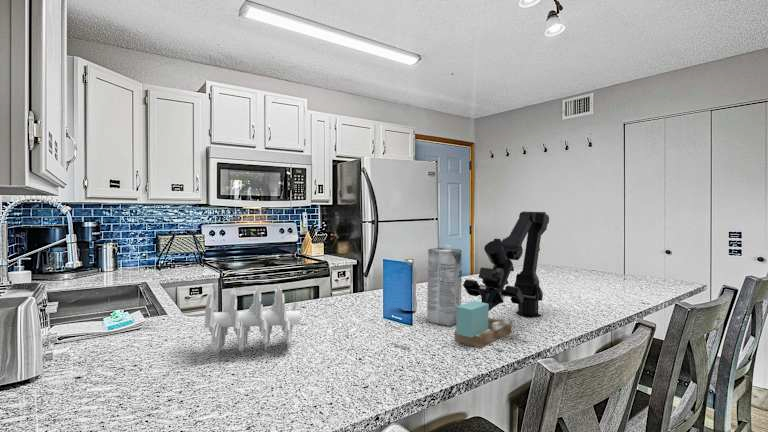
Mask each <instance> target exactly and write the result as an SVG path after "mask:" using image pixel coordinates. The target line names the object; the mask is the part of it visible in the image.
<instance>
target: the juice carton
mask: <svg viewBox="0 0 768 432" xmlns="http://www.w3.org/2000/svg"><path fill="white" fill-rule="evenodd" d="M427 251H428V254H427V255H428V259H427V304H426V306H427V319H428V322H429V323H432V324H439V325H442V326H446V327H451V326H454V325H455V324H456V319H457V306H460V305H462V273H463V271H462V270H463V269H462V267H463V265H462V264H463V263H462V262H463V260H462V259H463V258H462V249H460V248H452V245H451V244H443V247H434V248H429V249H427Z"/></svg>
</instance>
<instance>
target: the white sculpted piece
mask: <svg viewBox="0 0 768 432" xmlns="http://www.w3.org/2000/svg"><path fill="white" fill-rule="evenodd" d="M258 287H259V285H255V290H253V301H252V303H251V305H250V306H249V307H248V308H249V309H248V311H238V298H237V291H236V288H235V287H233V288H232V289H231V293H230V301H229V305H228V307H226V311H219V312H218V311H214V298H213V294H214V293H213V289H212V288H211V287H210V288H209V289H208V290H209V291H208V294H207V295H208V296H207V300H206V304H205V310H204V312H205V313H204V328H205V329H207V328H208V329H209V331H208V332H209V333H210V336H211V338H210V342H211V343H210V344H213V351H216V356H219V355H220V352H222V351H223V347H225V344H226V338H227V337H226V336H227V335H229V334H228V333H229V328H233V332H235V335H236V345H238V351H240V354H243V353H244V350H245V349H246V344H248V337H249V335H248V334H249V333H250V331H251V327H258V328H259V329H258V331H259V332H260V335H261V336H262V337H263V339H262V341H263V342H262V343H263V344H264V351H267V348H268V347H269V344H270V341H271V334H272V330H273V326H274V327H276V326H280V327H281V331H282V332H283V334H284V337H285V338H286V340H285V341H286V349H287V350H288V349H290V346H291V342H292V333H293V332H292V331H293V327H294V326H299V325H300V321H301V311H300V310H297V309H298V302H297V301H294V302H293V303H292V307H291V309H289V310H287V305H285V293H283V289H282V287H281V285H280V284H278V285H277V288H275V289H274V300H273V303H272V305H270V306H271V307H270V310H264V304H263V303H262V292H260V288H258Z"/></svg>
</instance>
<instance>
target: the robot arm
mask: <svg viewBox="0 0 768 432" xmlns="http://www.w3.org/2000/svg"><path fill="white" fill-rule="evenodd" d="M549 222H550V216H549V214H547V212H545V211H521V212H520V213H519V215H518V219H517V220H516V223H515V225H514V227H513V229H512V230H511V232H510V234H509V235H508V236H507V237H505V238H503V239H502V240H501V238H494V239H493V240H492V241H489V242H487V244H485V246H484V247H483V248H484V249H483V250H484V253H485V255H486V256H487V258H488V260H489V262H490V263H491V264H492V265H493V266H492V268H489V267H480V269H479V273H478V278H479V279H482V280H481V282H482V284H481V283H480V284H479V282H478V280H474V279H465V280H464V282H463V284H462V287H463V288H464V290H465V292H466V293H467V294H468V295H469V296H474V297H478V296H480V299H481V302H483V303H488V304H489V311H491V310H493V308H495V307H497V306H498V305H500V304H504V299H505V298H506V297H509V298H510V301H511V303H512V304H516V305H517V311H516V312H515V313H516V314H518V315H520V316H523V317H526V318H534V317H541V315H542V314H540V313H539V302H542V301H543V298H544V293H543V290H542V288H541V286H540V279H539V277H538V275H537V267H538V260H539V253H540V246H541V245H540V244H541V239H542V235H543V234H544V233H545V231H547V229H548V224H549ZM526 236H527V237H526ZM525 238H526V244H525V249H524V248H523V245H522V244H523V242H524V240H525ZM523 252H524V256H523ZM522 256H523V257H524V258H523V264H522V270H521V271H520V273H517V274H516V275H515V281H514V285H508V284H509V280H508V279H509V276H510V274H511V272H514V271H515V267H514V263H513V262H512V261H519V260H520V258H521V257H522Z"/></svg>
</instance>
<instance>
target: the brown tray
mask: <svg viewBox="0 0 768 432" xmlns="http://www.w3.org/2000/svg"><path fill="white" fill-rule="evenodd" d="M512 324H513V323H512V322H510V318H509V317H506V316H505V317H502V318H501V319H497V318H496V319H495V318H491V317H488V330H487V331H484V332H482V333H480V334H478V335H476V336H474V337H472V338H471V337H467V336H463V335H459V334H456V330H454V342H458V343H461V344H465V345H467V346H468V345H469V346H472V347H476V348H480V349H482V348H484V347H486V346H488V345H489V344H491V343H493V342H495V341H498V340H499V339H501V338H503V337H505V336H507V335H509V334H510V333H512V331H513V330H512V328H513V325H512Z"/></svg>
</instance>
